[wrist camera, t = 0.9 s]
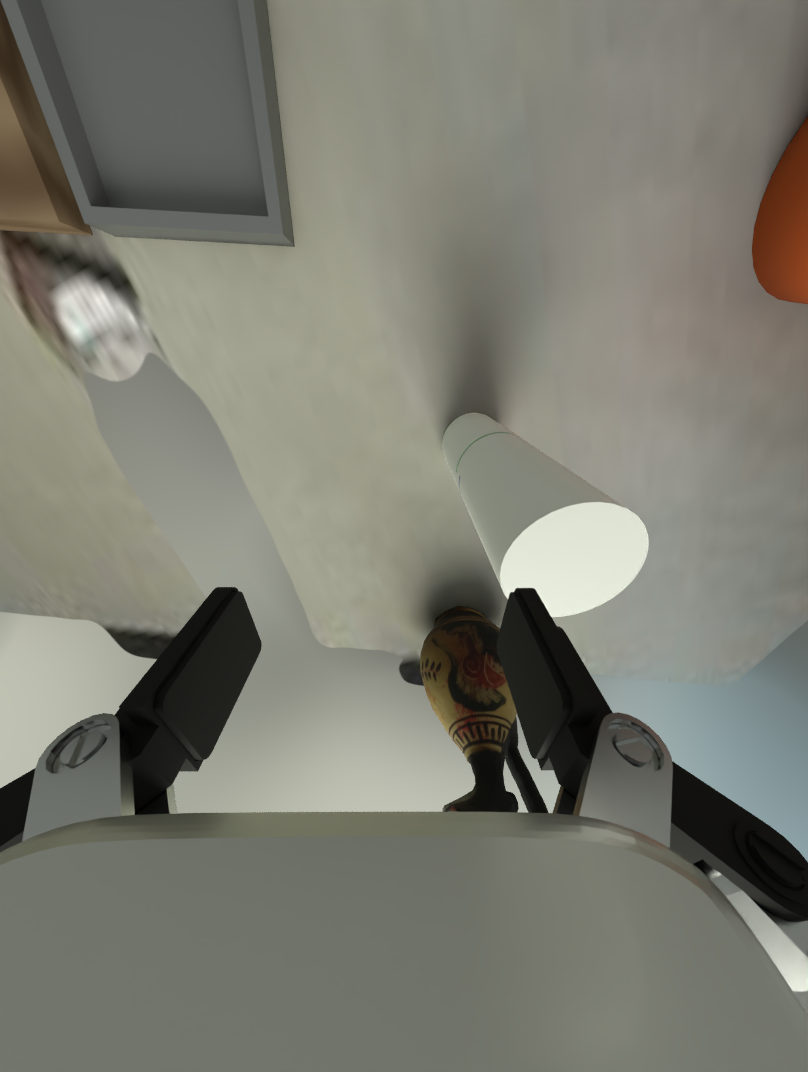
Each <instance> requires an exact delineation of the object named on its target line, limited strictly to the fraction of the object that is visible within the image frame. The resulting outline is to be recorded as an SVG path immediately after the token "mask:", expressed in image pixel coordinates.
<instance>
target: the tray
mask: <svg viewBox="0 0 808 1072" xmlns="http://www.w3.org/2000/svg"><path fill="white" fill-rule="evenodd" d="M1 3H2V5H3V8H4V11H5V13H6V16H7V18H8V21H9V24H10V26H11V29H12V32H13V34H14V37H15V40H16V42H17V45H18V48H19V50H20V53H21V56H22V58H23V61H24V64H25V66H26V69H27V72H28V74H29V77H30V80H31V82H32V85H33V88H34V90H35V93H36V96H37V98H38V101H39V103H40V106H41V109H42V111H43V114H44V117H45V119H46V122H47V125H48V127H49V130H50V133H51V135H52V138H53V141H54V143H55V146H56V149H57V151H58V154H59V157H60V159H61V162H62V165H63V167H64V170H65V173H66V175H67V178H68V180H69V183H70V186H71V188H72V191H73V194H74V196H75V199H76V202H77V204H78V207H79V210H80V212H81V215H82V218H83V220H84V223H85V224H88V225H90V226H92V227H95V228H97V229H99V230H102V231H104V232H106V233H109V234H111V235H113V236H116V237H134V238H152V239H170V240H188V241H205V242H223V243H241V244H259V245H277V246H294V238H293V229H292V220H291V212H290V203H289V194H288V185H287V176H286V168H285V159H284V150H283V141H282V133H281V124H280V115H279V106H278V98H277V89H276V80H275V71H274V63H273V54H272V45H271V36H270V28H269V19H268V10H267V1H266V0H1Z"/></svg>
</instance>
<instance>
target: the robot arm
mask: <svg viewBox="0 0 808 1072" xmlns="http://www.w3.org/2000/svg"><path fill="white" fill-rule="evenodd" d="M260 651H261V640H260V638H259V635H258V632H257V630H256V627H255V624H254V622H253V619H252V617H251V614H250V611H249V609H248V606H247V603H246V601H245V598H244V596H243V594H242V592H239V591H238V589H237V588H235V587H217V588H215V589H214V590H213V591H212V593H211V594H210V595H209V596H208V597H207V599H206V600H205V601H204V602H203V604H202V605H201V606H200V607H199V609H198V610H197V611H196V612H195V613H194V615H193V616H192V617H191V618H190V620H189V621H188V622H187V623H186V625H185V626H184V627H183V628H182V630H181V631H180V632H179V633H178V634H177V636H176V637H175V638H174V639H173V641H172V642H171V643H170V644H169V646H168V647H167V648H166V649H165V651H164V652H163V653H162V654H161V655H160V657H159V658H158V659H157V660H156V662H155V663H154V664H153V665H152V667H151V668H150V669H149V670H148V672H147V673H146V674H145V675H144V677H143V678H142V679H141V680H140V682H139V683H138V684H137V685H136V686H135V688H134V689H133V690H132V691H131V693H130V694H129V695H128V697H127V698H126V699H125V700H124V701H123V702H122V704H121V705H120V706H119V708H120V709H119V710H118V711H117V713H116V714H115V715H113V714H106V713H103V714H99V715H93V716H91V717H89V718H86V719H84V720H81V721H80V722H78V723H76V724H75V725H73V726H71V727H70V728H68V729H67V730H66V731H65V732H63V733H62V734H60V735H59V736H58V737H57V738H56V739H55V740H54V741H53V742H52V743H51V744H50V745H49V746H48V747H47V748H46V750H45V751H44V753H43V754H42V755H41V757H40V758H39V761H38V763H37V766H36V768H35V769H33V770H31V771H30V772H28V773H26V774H25V775H23V776H21V777H19V778H18V779H16V780H14V781H12V782H11V783H9V784H7V785H6V786H4V787H2V788H0V1072H808V862H807V861H806V860H805V858H804V857H803V856H802V855H801V854H800V852H799V851H798V850H797V849H796V848H795V847H794V846H793V845H792V844H791V843H790V842H789V841H788V840H787V839H786V838H785V837H783V836H782V835H781V834H779V833H778V832H777V831H776V830H774V829H773V828H771V827H770V826H769V825H767V824H766V823H764V822H763V821H761V820H760V819H758V818H757V817H755V816H754V815H752V814H751V813H749V812H748V811H746V810H745V809H743V808H742V807H740V806H739V805H737V804H736V803H734V802H733V801H731V800H730V799H728V798H727V797H725V796H724V795H722V794H721V793H719V792H718V791H716V790H715V789H713V788H712V787H710V786H709V785H707V784H706V783H704V782H703V781H701V780H700V779H698V778H697V777H695V776H694V775H692V774H691V773H689V772H687V771H686V770H685V769H683V768H681V767H680V766H678V765H677V764H675V763H674V762H672V758H671V755H670V753H669V751H668V749H667V747H666V745H665V744H664V742H663V741H662V740H661V738H660V737H659V736H658V735H657V734H656V733H655V732H654V731H653V730H652V729H651V728H650V727H649V726H647V725H646V724H644V723H643V722H642V721H640V720H638V719H637V718H634V717H632V716H630V715H627V714H623V713H612V711H611V710H610V707H609V706H608V704H607V703H606V701H605V699H604V697H603V696H602V694H601V692H600V691H599V689H598V687H597V686H596V684H595V682H594V680H593V679H592V677H591V675H590V674H589V672H588V670H587V669H586V667H585V665H584V663H583V662H582V660H581V658H580V657H579V655H578V653H577V652H576V650H575V648H574V647H573V645H572V643H571V641H570V640H569V638H568V636H567V635H566V633H565V632H564V630H563V629H562V628H560V627H557V626H556V624H555V623H554V621H553V619H552V617H551V616H550V614H549V612H548V610H547V609H546V607H545V605H544V603H543V602H542V600H541V598H540V597H539V595H538V593H537V591H536V590H535V589H534V588H516V589H515V591H514V592H511V593H510V594H509V598H508V602H507V605H506V609H505V613H504V617H503V621H502V624H501V628H500V632H499V636H498V639H497V652H498V655H499V658H500V661H501V665H502V668H503V671H504V674H505V677H506V680H507V683H508V686H509V689H510V692H511V696H512V699H513V702H514V705H515V708H516V711H517V714H518V717H519V720H520V723H521V727H522V730H523V733H524V736H525V739H526V742H527V745H528V748H529V751H530V754H531V756H532V757H533V758H534V759H538V762H539V765H540V768H541V770H554V771H555V775H556V777H557V780H558V783H559V784H560V785H561V787H560V790H559V794H558V797H557V800H556V803H555V807H554V810H553V813H517V812H268V813H267V812H266V813H265V812H264V813H182V814H177V807H176V801H175V794H174V786H173V782H174V780H175V778H176V776H177V774H178V772H179V771H198V770H199V768H200V766H201V764H202V762H203V760H204V759H207V758H208V757H209V756H210V754H211V752H212V751H213V749H214V746H215V745H216V742H217V740H218V738H219V736H220V734H221V732H222V730H223V728H224V726H225V724H226V722H227V719H228V718H229V716H230V713H231V711H232V709H233V707H234V705H235V703H236V701H237V699H238V697H239V695H240V693H241V691H242V689H243V686H244V684H245V682H246V680H247V678H248V676H249V674H250V672H251V670H252V668H253V666H254V664H255V662H256V660H257V657H258V655H259V653H260Z"/></svg>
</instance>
